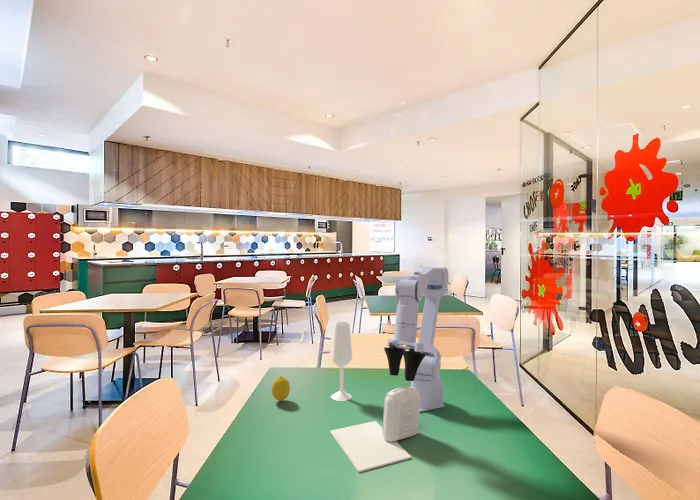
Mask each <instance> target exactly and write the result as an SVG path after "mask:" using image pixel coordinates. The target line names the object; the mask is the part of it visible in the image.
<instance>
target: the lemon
mask: <svg viewBox="0 0 700 500" xmlns="http://www.w3.org/2000/svg"><path fill="white" fill-rule="evenodd" d="M290 388H291V387H290V382H289V380H288V379H287V378H286V377H284V376H282V375H280V376H278V377H276V378H275V379H274V380H273V381H272V386H271V394H272V397H273V398H274V400H276V401H278V402H283V401H284V400H285V399H287V398H288V397H289V394H290V391H291V390H290Z"/></svg>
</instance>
